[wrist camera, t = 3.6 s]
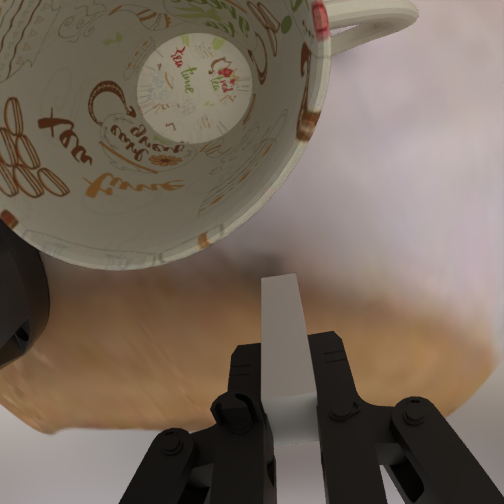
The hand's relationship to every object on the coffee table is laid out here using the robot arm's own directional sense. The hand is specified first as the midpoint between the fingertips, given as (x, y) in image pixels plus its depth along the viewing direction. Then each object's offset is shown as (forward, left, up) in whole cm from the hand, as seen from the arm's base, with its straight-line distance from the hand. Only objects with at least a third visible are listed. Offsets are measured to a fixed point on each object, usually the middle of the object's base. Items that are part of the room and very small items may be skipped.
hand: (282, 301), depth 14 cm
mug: (0, +10, -4) cm, 11 cm away
